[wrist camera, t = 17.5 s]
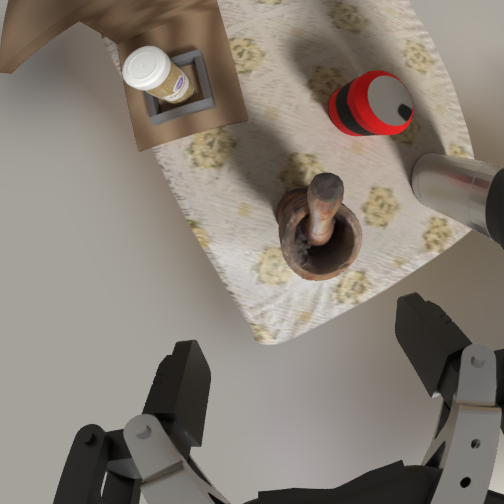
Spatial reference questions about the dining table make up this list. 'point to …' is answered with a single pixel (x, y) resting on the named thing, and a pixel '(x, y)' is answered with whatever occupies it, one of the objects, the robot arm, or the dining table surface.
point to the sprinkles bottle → (157, 75)
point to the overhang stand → (134, 37)
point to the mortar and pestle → (318, 229)
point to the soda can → (372, 105)
